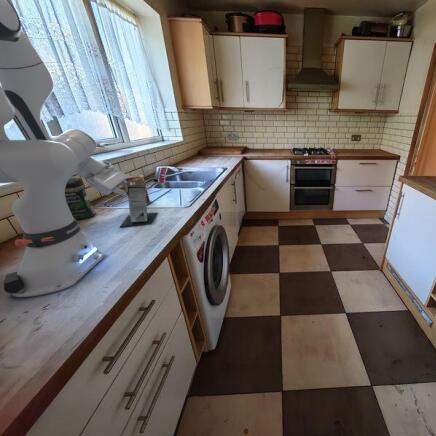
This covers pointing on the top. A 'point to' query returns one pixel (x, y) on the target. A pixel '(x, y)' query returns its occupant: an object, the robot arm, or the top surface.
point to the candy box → (137, 178)
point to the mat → (150, 219)
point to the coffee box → (137, 201)
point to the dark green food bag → (78, 199)
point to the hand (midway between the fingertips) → (129, 192)
